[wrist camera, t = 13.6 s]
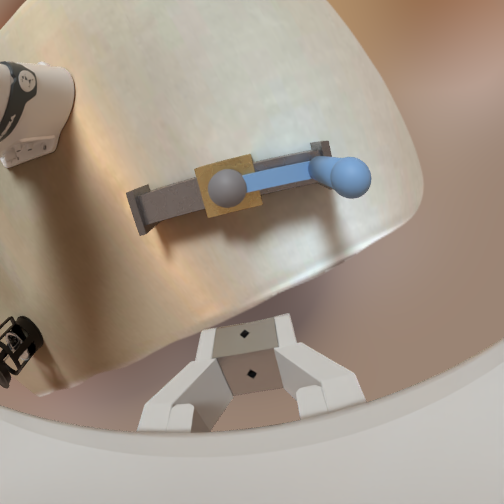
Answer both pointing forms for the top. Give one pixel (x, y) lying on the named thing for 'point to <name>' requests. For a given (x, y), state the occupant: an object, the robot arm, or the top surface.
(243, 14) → the top surface
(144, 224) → the valve pipe
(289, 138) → the top surface
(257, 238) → the top surface
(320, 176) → the lever
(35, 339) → the french press
